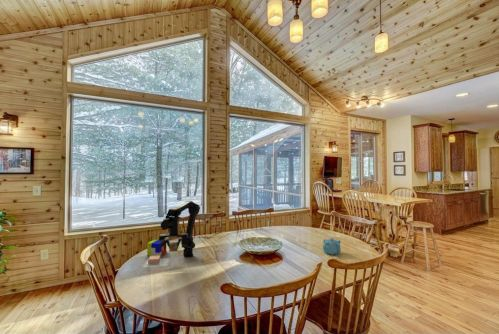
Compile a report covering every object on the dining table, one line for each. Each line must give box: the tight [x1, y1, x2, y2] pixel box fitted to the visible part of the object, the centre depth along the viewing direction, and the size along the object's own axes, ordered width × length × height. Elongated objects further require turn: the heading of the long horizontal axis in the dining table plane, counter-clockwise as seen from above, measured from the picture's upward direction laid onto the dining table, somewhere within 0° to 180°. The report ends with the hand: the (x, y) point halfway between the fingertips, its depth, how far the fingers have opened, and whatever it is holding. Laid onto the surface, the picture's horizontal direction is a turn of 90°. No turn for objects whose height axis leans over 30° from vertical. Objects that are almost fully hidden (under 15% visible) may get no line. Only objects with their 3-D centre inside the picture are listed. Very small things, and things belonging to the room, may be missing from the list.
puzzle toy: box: [146, 238, 167, 256], centre depth 185 cm, size 10×10×10 cm
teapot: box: [322, 237, 342, 256], centre depth 191 cm, size 20×17×12 cm
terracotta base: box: [147, 255, 161, 264], centre depth 169 cm, size 7×7×3 cm
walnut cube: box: [168, 241, 179, 253], centre depth 167 cm, size 5×5×5 cm
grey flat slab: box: [142, 257, 171, 268], centre depth 167 cm, size 16×14×1 cm
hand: (173, 248), depth 167 cm, fingers closed on walnut cube, 5 cm apart
